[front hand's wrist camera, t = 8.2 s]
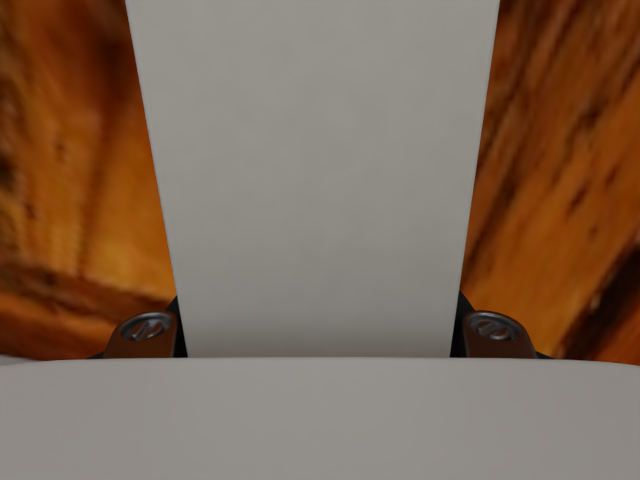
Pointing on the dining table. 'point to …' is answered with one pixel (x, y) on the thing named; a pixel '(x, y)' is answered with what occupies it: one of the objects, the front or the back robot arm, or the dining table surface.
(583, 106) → the dining table surface
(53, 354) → the dining table surface
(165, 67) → the beam
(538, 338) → the dining table surface
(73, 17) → the dining table surface
